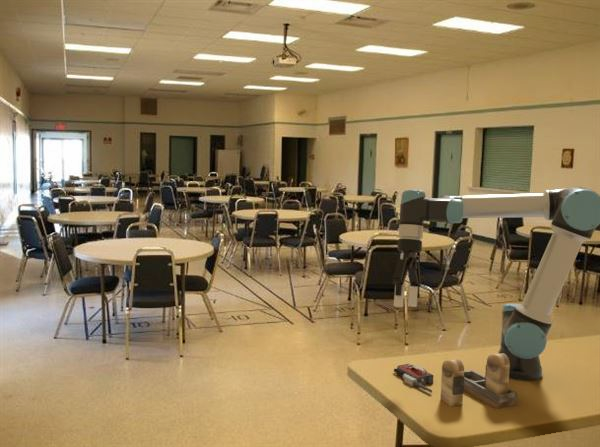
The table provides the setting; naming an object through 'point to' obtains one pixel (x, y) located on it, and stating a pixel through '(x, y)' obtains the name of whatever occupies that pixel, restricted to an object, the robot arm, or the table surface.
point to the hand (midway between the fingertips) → (405, 306)
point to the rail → (492, 382)
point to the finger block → (452, 382)
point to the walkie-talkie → (415, 375)
